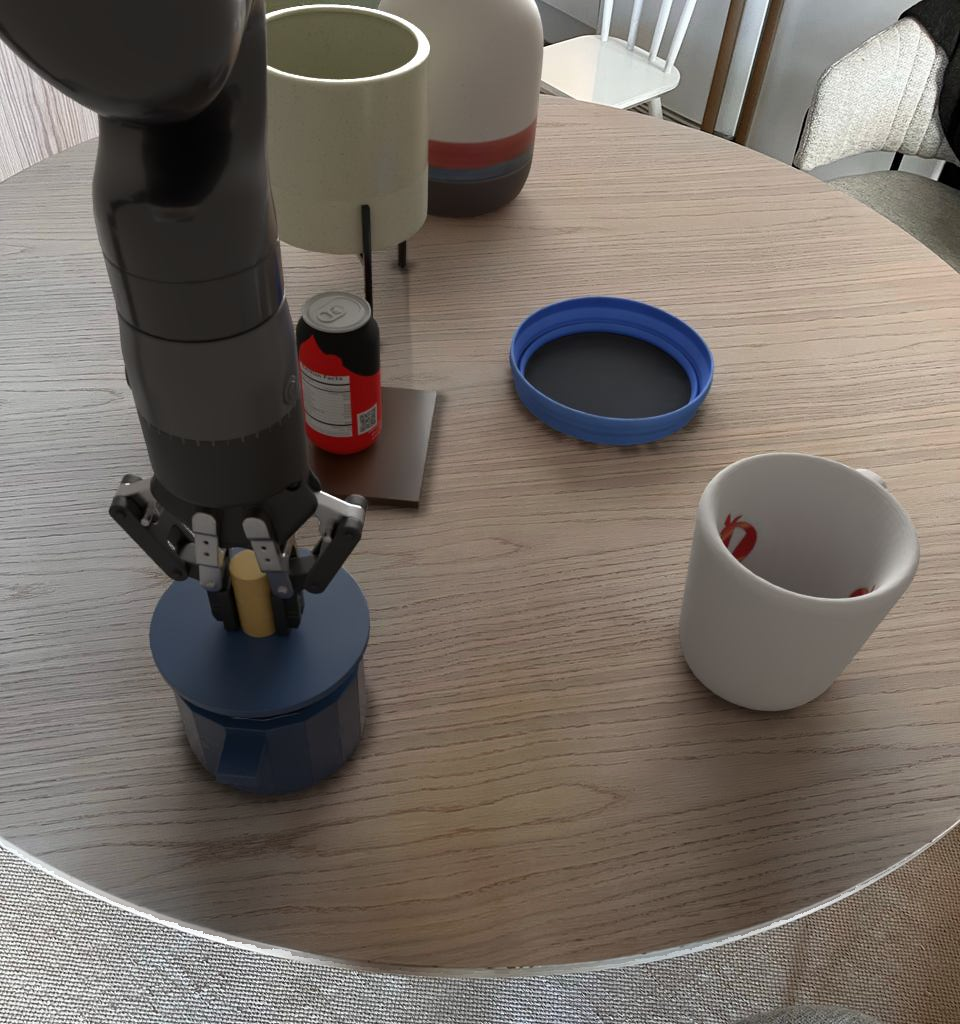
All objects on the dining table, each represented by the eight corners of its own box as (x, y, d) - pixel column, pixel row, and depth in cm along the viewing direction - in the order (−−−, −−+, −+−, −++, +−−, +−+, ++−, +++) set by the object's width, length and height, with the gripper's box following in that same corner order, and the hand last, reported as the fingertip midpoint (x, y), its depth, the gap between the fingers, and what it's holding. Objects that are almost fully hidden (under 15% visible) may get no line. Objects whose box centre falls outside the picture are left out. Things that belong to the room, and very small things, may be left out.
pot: (156, 823, 63) (130, 759, 57) (221, 613, 73) (205, 541, 67) (343, 841, 62) (337, 779, 57) (381, 628, 73) (379, 558, 67)
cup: (755, 528, 82) (808, 389, 71) (910, 619, 77) (992, 484, 66) (619, 660, 72) (656, 523, 62) (785, 773, 67) (857, 646, 57)
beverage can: (397, 437, 85) (396, 312, 75) (340, 472, 82) (332, 346, 72) (346, 402, 87) (339, 276, 78) (290, 434, 84) (275, 307, 75)
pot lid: (125, 712, 57) (99, 644, 52) (185, 547, 65) (166, 475, 60) (352, 734, 57) (347, 667, 52) (384, 566, 65) (382, 495, 60)
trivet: (244, 492, 81) (242, 484, 80) (279, 383, 90) (278, 375, 89) (418, 509, 81) (418, 501, 80) (437, 398, 90) (437, 391, 89)
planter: (462, 295, 100) (474, 41, 82) (349, 367, 92) (335, 103, 74) (349, 236, 105) (338, -14, 87) (233, 299, 97) (194, 38, 79)
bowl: (725, 358, 96) (735, 326, 93) (676, 477, 85) (685, 444, 82) (546, 308, 99) (550, 275, 96) (476, 416, 88) (479, 382, 86)
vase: (503, 245, 106) (524, -10, 87) (352, 211, 108) (340, -43, 90) (547, 172, 116) (573, -71, 97) (408, 142, 118) (407, -99, 100)
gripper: (380, 346, 49) (386, 586, 62) (91, 319, 49) (161, 564, 62) (356, 450, 44) (368, 684, 58) (37, 420, 44) (124, 661, 58)
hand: (260, 621), depth 60 cm, fingers closed on pot lid, 2 cm apart
